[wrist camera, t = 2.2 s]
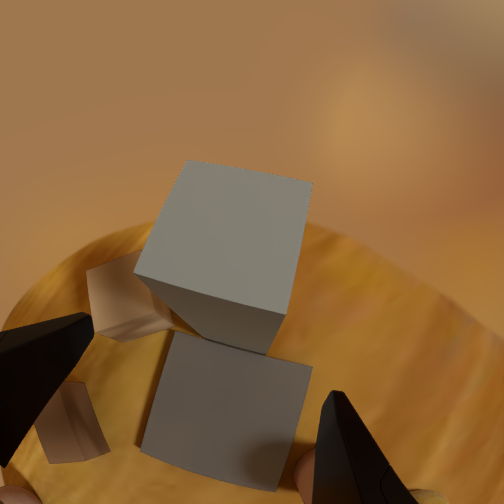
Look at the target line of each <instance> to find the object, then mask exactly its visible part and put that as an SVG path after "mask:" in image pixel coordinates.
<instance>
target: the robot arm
mask: <svg viewBox="0 0 504 504" xmlns="http://www.w3.org/2000/svg"><path fill="white" fill-rule="evenodd" d="M93 337H94V326H93V320H92V317H91V316H90V315H89V314H87V313H85V312H80V313H76V314H72V315H68V316H64V317H60V318H56V319H52V320H48V321H44V322H40V323H35V324H31V325H27V326H23V327H19V328H15V329H10V330H6V331H2V332H0V465H1V466H2V467H3V468H5V467H6V466H7V464H8V463H9V461H10V459H11V458H12V456H13V454H14V453H15V451H16V450H17V448H18V446H19V445H20V443H21V442H22V440H23V439H24V437H25V436H26V435H25V434H27V432H28V431H29V429H30V428H31V426H32V425H33V423H34V422H35V421H36V419H37V418H38V416H39V415H40V413H41V412H42V410H43V409H44V408H45V406H46V405H47V403H48V402H49V401H50V399H51V398H52V396H53V395H54V394H55V392H56V391H57V390H58V388H59V387H60V386H61V384H62V383H63V382H64V380H65V379H66V378H67V376H68V375H69V374H70V372H71V371H72V370H73V368H74V367H75V366H76V364H77V363H78V361H79V360H80V358H81V356H82V355H83V353H84V351H85V350H86V348H87V347H88V345H89V344H90V342H91V340H92V339H93ZM0 504H4V503H3V502H2V501H1V500H0ZM311 504H419V503H418V502H417V500H416V499H415V498H414V497H413V496H412V495H411V493H410V492H409V491H408V490H407V488H406V487H405V486H404V484H403V483H402V482H401V480H400V479H399V477H398V476H397V474H396V473H395V471H394V470H393V468H392V467H391V465H389V462H388V460H387V459H386V457H385V456H384V454H383V453H382V451H381V449H380V448H379V446H378V445H377V443H376V442H375V440H374V438H373V437H372V435H371V434H370V432H369V431H368V429H367V428H366V426H365V424H364V423H363V421H362V420H361V418H360V417H359V415H358V413H357V412H356V410H355V409H354V407H353V406H352V404H351V402H350V401H349V399H348V398H347V396H346V395H345V393H344V392H342V391H337V390H332V391H331V392H330V393H329V395H328V397H327V399H326V400H325V402H324V404H323V406H322V410H321V416H320V423H319V429H318V435H317V441H316V447H315V462H314V478H313V492H312V503H311Z"/></svg>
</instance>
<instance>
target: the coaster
mask: <svg viewBox="0 0 504 504" xmlns="http://www.w3.org/2000/svg"><path fill="white" fill-rule="evenodd" d="M312 368H313V367H312V366H307V365H302V364H297V363H293V362H288V361H283V360H279V359H275V358H270V357H266V356H262V355H258V354H254V353H250V352H247V351H243V350H239V349H235V348H232V347H228V346H225V345H221V344H218V343H214V342H211V341H207V340H204V339H201V338H198V337H195V336H191V335H188V334H185V333H182V332H179V331H175V334H174V337H173V340H172V343H171V346H170V349H169V352H168V355H167V359H166V362H165V365H164V368H163V371H162V375H161V378H160V381H159V385H158V388H157V391H156V395H155V398H154V402H153V405H152V408H151V412H150V416H149V419H148V423H147V426H146V430H145V434H144V437H143V441H142V445H141V449H140V452H142V453H145V454H147V455H149V456H151V457H154V458H156V459H159V460H161V461H164V462H166V463H169V464H171V465H174V466H177V467H179V468H182V469H185V470H188V471H191V472H194V473H197V474H200V475H203V476H206V477H210V478H213V479H217V480H220V481H224V482H228V483H232V484H236V485H241V486H245V487H250V488H255V489H260V490H265V491H271V492H276V489H277V486H278V483H279V481H280V478H281V475H282V472H283V469H284V466H285V463H286V460H287V457H288V454H289V451H290V448H291V445H292V442H293V438H294V435H295V432H296V428H297V425H298V422H299V418H300V414H301V411H302V407H303V404H304V400H305V396H306V392H307V388H308V384H309V380H310V376H311V372H312Z"/></svg>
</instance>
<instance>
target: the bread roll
mask: <svg viewBox="0 0 504 504" xmlns="http://www.w3.org/2000/svg"><path fill="white" fill-rule="evenodd" d="M410 493H411V495H412V496H413V497H414V498H415V499H416V500H417V502H418V503H419V504H449V502H448V500H447V499H446V498H445V497H444V496H443V495H441V494H440V493H438V492H434V491H431V490H415V491H411V492H410Z"/></svg>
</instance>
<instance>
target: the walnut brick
mask: <svg viewBox="0 0 504 504" xmlns="http://www.w3.org/2000/svg"><path fill="white" fill-rule="evenodd" d="M34 425H35V428H36V431H37V434H38V437H39V439H40V442H41V445H42V447H43V450H44V452H45V454H46V457H47V459H48V462H49V464H58V463H71V462H81V461H87V460H90V459H92V458H95V457H98V456H100V455H103V454H106V453H108V452H111V451H110V449H109V446H108V444H107V442H106V440H105V437H104V435H103V433H102V430H101V428H100V425H99V423H98V420H97V418H96V415H95V412H94V410H93V407H92V404H91V401H90V398H89V395H88V392H87V389H86V386H85V383H77V382H66V381H64V382H63V383H62V384H61V386H60V387H59V388H58V390H57V391H56V392H55V394H54V395H53V396H52V398H51V399H50V401H49V402H48V403H47V405H46V406H45V408H44V409H43V410H42V412H41V413H40V415H39V416H38V418H37V419H36V421H35V422H34Z"/></svg>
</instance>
